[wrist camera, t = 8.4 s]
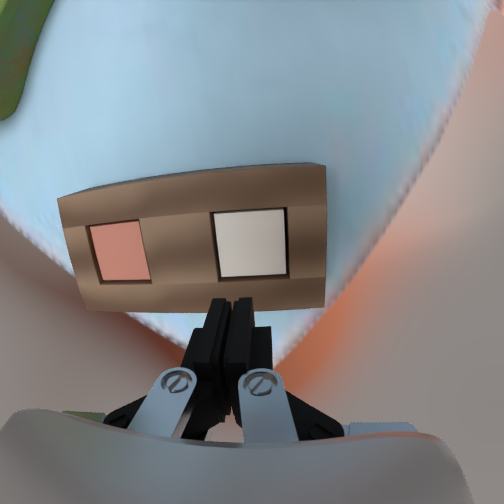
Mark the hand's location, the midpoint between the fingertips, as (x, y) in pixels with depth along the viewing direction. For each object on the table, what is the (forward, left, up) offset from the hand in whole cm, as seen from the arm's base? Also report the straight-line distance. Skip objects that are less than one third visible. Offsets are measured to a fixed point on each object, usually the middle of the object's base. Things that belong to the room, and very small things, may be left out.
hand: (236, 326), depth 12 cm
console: (0, -6, -17) cm, 18 cm away
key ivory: (0, 0, -16) cm, 16 cm away
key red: (0, -12, -16) cm, 20 cm away
